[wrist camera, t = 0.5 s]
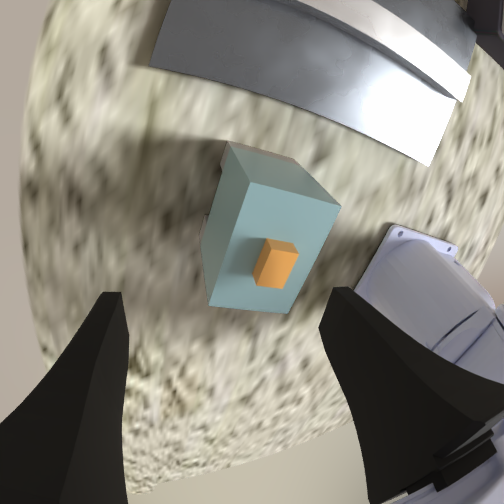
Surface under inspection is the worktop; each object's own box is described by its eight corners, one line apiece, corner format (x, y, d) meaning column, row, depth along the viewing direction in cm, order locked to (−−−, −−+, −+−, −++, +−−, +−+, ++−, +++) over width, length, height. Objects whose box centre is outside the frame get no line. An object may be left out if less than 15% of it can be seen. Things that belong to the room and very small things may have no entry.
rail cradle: (470, 25, 13) (495, 28, 11) (419, 161, 19) (442, 175, 17) (229, -110, 7) (237, -130, 5) (150, 66, 13) (144, 66, 11)
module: (294, 159, 17) (350, 215, 12) (259, 245, 20) (292, 325, 15) (227, 140, 16) (254, 190, 10) (198, 234, 19) (210, 318, 13)
